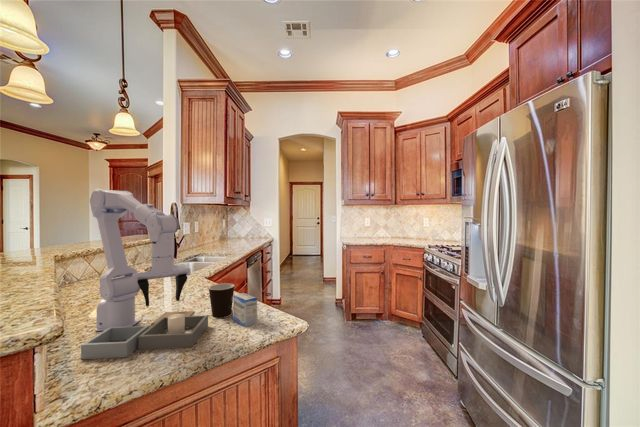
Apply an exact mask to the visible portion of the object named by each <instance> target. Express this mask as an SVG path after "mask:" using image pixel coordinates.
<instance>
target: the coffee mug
mask: <svg viewBox="0 0 640 427" xmlns="http://www.w3.org/2000/svg"><path fill="white" fill-rule="evenodd" d="M208 292H209V293H208V294H209V301H210V307H211V308H210V309H211V316H212V317H213V318H214V319H222V318H223V319H224V318H227V317H229V316H231V315H232V313H233V297H234V295H235V294H234V293H235V284H233V283H227V282H226V283H216V284H213V285H210V286H209V287H208Z"/></svg>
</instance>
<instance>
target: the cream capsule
mask: <svg viewBox="0 0 640 427" xmlns="http://www.w3.org/2000/svg"><path fill="white" fill-rule="evenodd" d="M179 333H186V328H185V315H184V314H174V315H171V316H169V317H168V329H167V334H179Z"/></svg>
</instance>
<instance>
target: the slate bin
mask: <svg viewBox="0 0 640 427" xmlns="http://www.w3.org/2000/svg"><path fill="white" fill-rule="evenodd" d="M149 328H150V325H133V326H126V327H109V328H108V329H106V330H105V331H100V332H99V333H98V334H96V335H95V336H93V337H92V338H90V339H89V340H87V341H85V342H83V343H82V344H80V360H91V359H93V360H95V359H109V358H110V359H113V358H127V357H128V356H130V354H132V353H133V352H134V351H135V350H136V349H138V336H140V335H141V334H142V333H143V332H145V331H146V330H147V329H149ZM109 341H110V342H109Z"/></svg>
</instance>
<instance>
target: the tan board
mask: <svg viewBox="0 0 640 427" xmlns="http://www.w3.org/2000/svg"><path fill="white" fill-rule="evenodd" d="M174 314H184V315H185V316H193V314H195V311H194V310H193V311H192V310H191V311H190V310H189V311H186V310H185V311H166V312H164V313H162V314H161V315H160V316H158V318H156V319H155V320H153V321H152V322H151V323H150V326H152V325H154V324H155V323H156V322H157V321H159V320H160V319H161V318H162V317H169V316H171V315H174Z"/></svg>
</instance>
